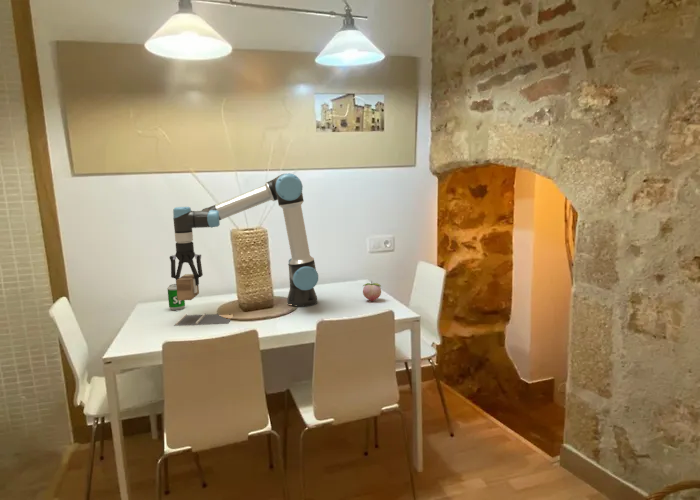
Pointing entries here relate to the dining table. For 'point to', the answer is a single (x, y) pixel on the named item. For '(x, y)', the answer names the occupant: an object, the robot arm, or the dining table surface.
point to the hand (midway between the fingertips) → (188, 292)
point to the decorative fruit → (372, 291)
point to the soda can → (174, 298)
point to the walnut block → (186, 287)
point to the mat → (202, 320)
